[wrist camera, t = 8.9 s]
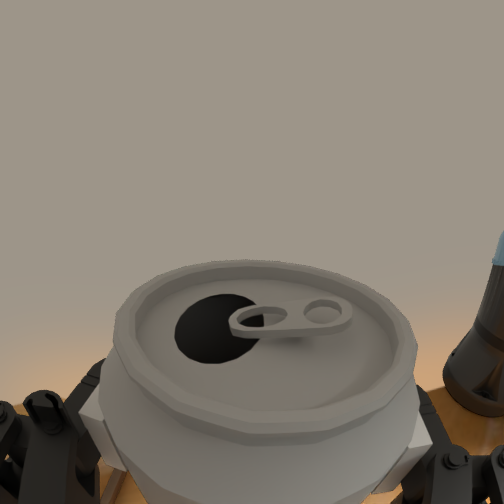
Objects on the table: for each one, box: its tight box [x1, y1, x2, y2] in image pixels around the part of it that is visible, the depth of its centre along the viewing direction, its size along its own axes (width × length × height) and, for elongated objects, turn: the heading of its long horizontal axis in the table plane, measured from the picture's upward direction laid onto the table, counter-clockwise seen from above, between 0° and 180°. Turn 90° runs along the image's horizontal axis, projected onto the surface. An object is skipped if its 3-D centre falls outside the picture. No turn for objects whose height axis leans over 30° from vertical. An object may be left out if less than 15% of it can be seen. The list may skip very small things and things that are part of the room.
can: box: [98, 260, 420, 504], centre depth 8 cm, size 8×8×12 cm
